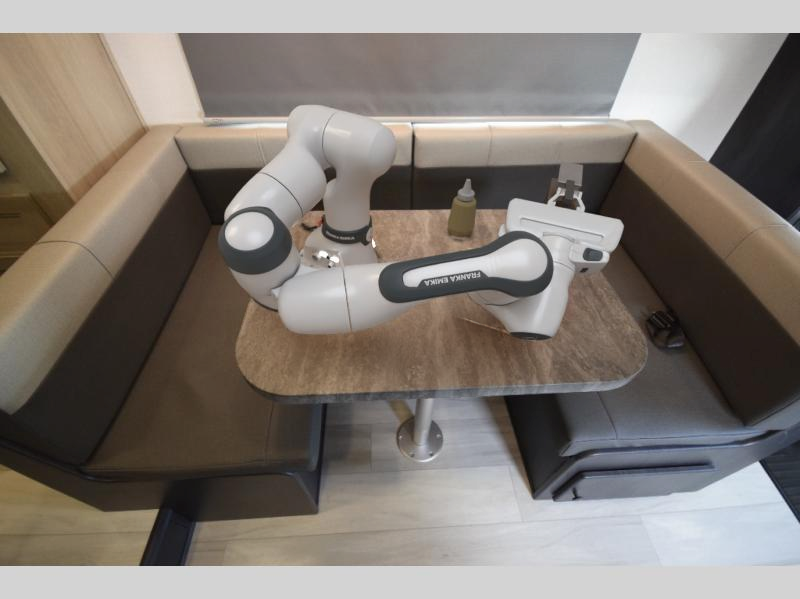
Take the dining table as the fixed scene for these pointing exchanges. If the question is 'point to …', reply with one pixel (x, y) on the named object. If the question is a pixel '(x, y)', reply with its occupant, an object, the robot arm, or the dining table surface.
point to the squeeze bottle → (463, 212)
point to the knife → (569, 180)
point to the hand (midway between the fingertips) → (569, 191)
